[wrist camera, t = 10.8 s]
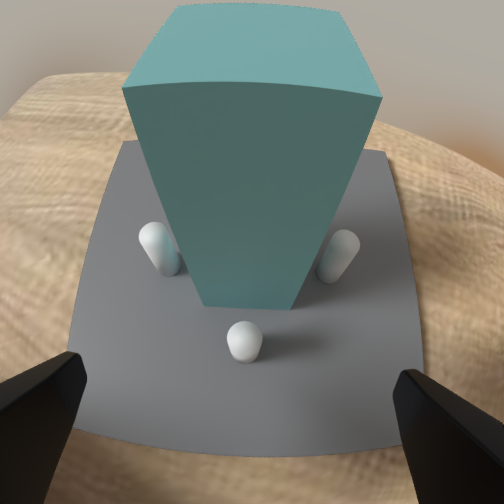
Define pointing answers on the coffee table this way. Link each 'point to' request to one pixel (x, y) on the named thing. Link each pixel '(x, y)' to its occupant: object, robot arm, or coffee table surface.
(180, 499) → the coffee table surface
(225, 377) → the peg plate
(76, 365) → the robot arm
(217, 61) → the teal block
